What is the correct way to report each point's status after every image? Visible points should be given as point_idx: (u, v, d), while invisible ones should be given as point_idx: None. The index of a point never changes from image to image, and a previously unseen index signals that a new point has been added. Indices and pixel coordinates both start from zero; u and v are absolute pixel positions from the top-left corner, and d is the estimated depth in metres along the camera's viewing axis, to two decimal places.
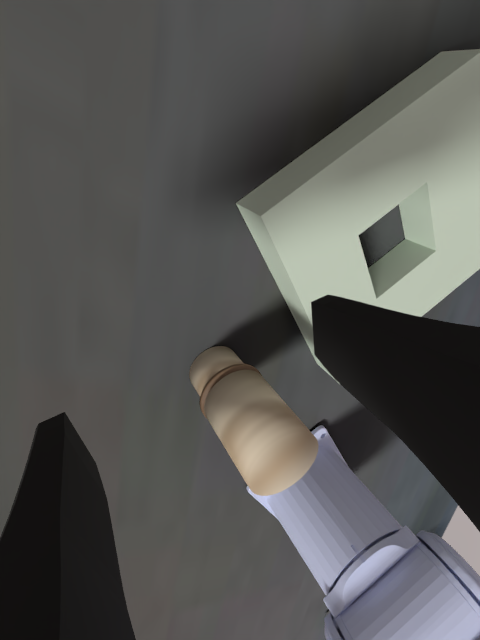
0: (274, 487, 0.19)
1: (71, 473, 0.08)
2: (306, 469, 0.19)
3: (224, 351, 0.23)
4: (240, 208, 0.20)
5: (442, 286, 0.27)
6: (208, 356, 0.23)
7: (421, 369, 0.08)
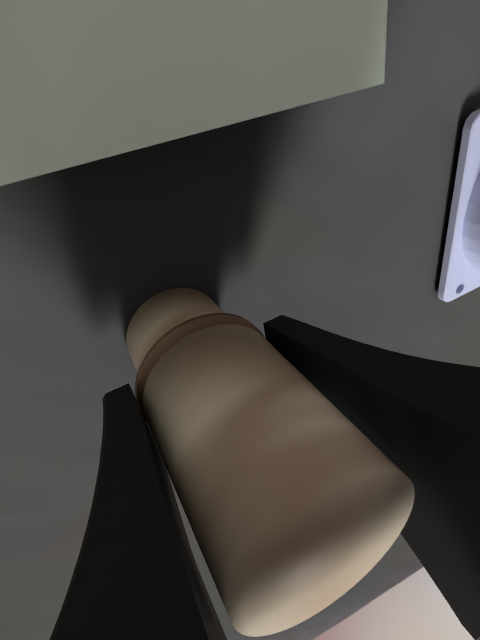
0: (373, 554, 0.08)
1: (146, 436, 0.08)
2: (404, 488, 0.07)
3: (136, 327, 0.11)
4: None
5: None
6: (131, 358, 0.12)
7: (363, 402, 0.08)
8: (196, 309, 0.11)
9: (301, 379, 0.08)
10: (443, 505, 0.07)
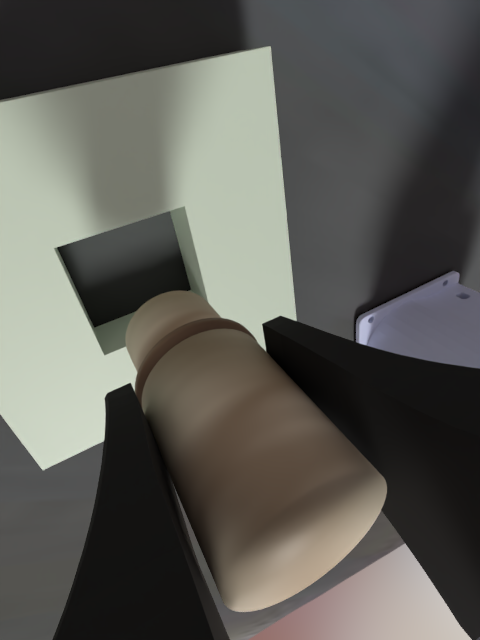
0: (351, 539, 0.09)
1: (148, 435, 0.08)
2: (376, 482, 0.08)
3: (135, 329, 0.12)
4: None
5: (258, 178, 0.16)
6: (131, 358, 0.13)
7: (361, 403, 0.08)
8: (191, 313, 0.12)
9: (287, 382, 0.09)
10: (441, 506, 0.07)
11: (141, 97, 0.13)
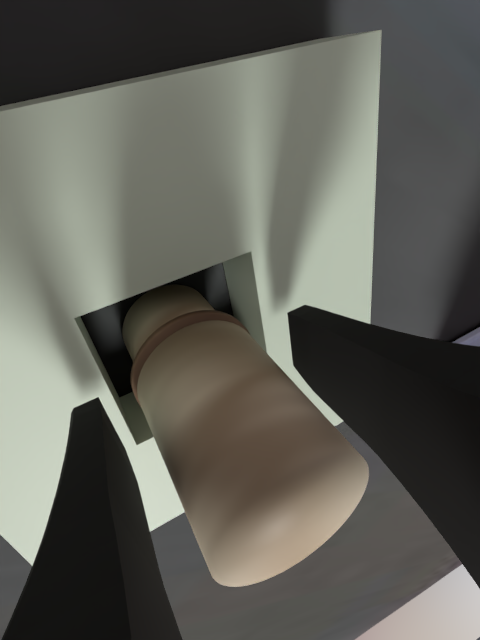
0: (335, 520, 0.09)
1: (111, 453, 0.08)
2: (358, 464, 0.08)
3: (131, 321, 0.13)
4: None
5: (345, 210, 0.12)
6: (127, 349, 0.13)
7: (392, 385, 0.08)
8: (185, 306, 0.12)
9: (276, 371, 0.10)
10: (474, 483, 0.07)
11: (205, 103, 0.09)
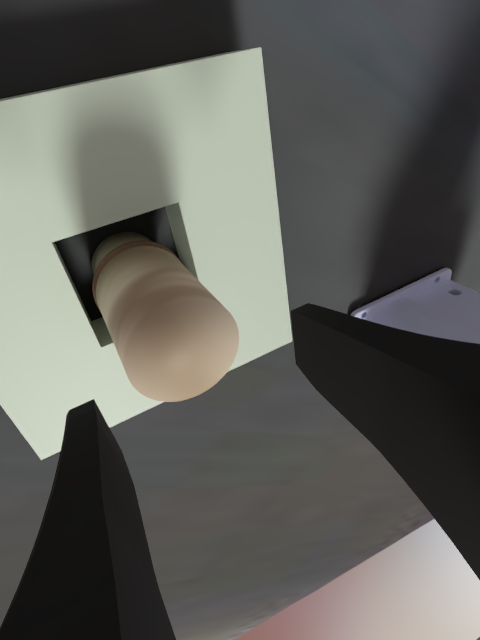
0: (219, 363, 0.13)
1: (105, 456, 0.08)
2: (225, 316, 0.13)
3: (96, 256, 0.17)
4: None
5: (250, 175, 0.17)
6: None
7: (396, 383, 0.08)
8: None
9: (184, 270, 0.14)
10: (479, 480, 0.07)
11: (135, 96, 0.13)
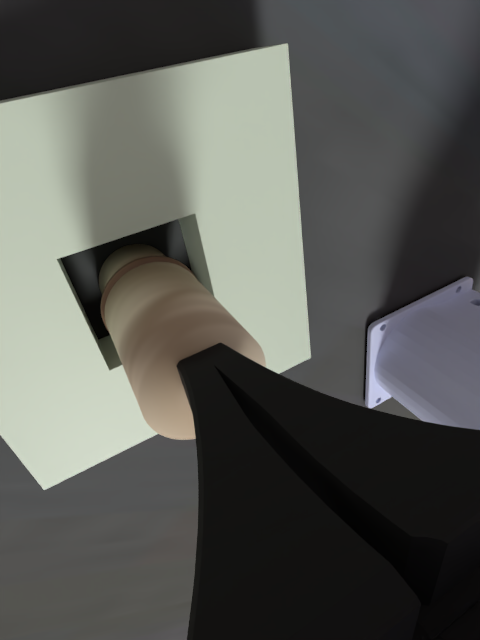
0: None
1: None
2: (252, 345, 0.11)
3: (104, 271, 0.16)
4: None
5: (272, 183, 0.15)
6: None
7: (283, 447, 0.07)
8: (145, 256, 0.15)
9: (203, 291, 0.13)
10: None
11: (150, 98, 0.12)
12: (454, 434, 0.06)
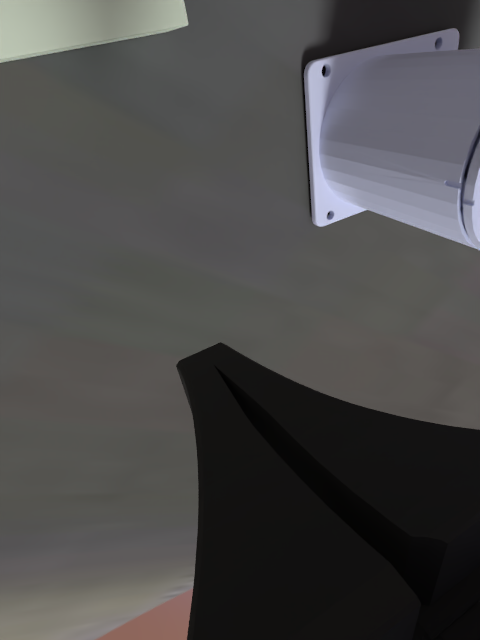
0: None
1: None
2: None
3: None
4: None
5: None
6: None
7: (283, 447, 0.07)
8: None
9: None
10: None
11: None
12: (454, 434, 0.06)
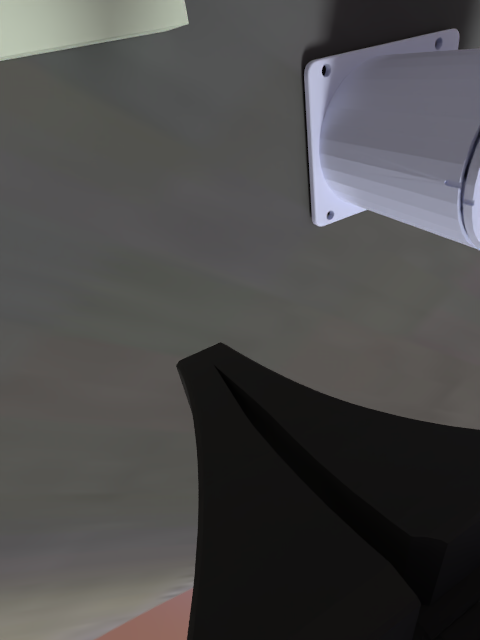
0: None
1: None
2: None
3: None
4: None
5: None
6: None
7: (283, 447, 0.07)
8: None
9: None
10: None
11: None
12: (454, 434, 0.06)
